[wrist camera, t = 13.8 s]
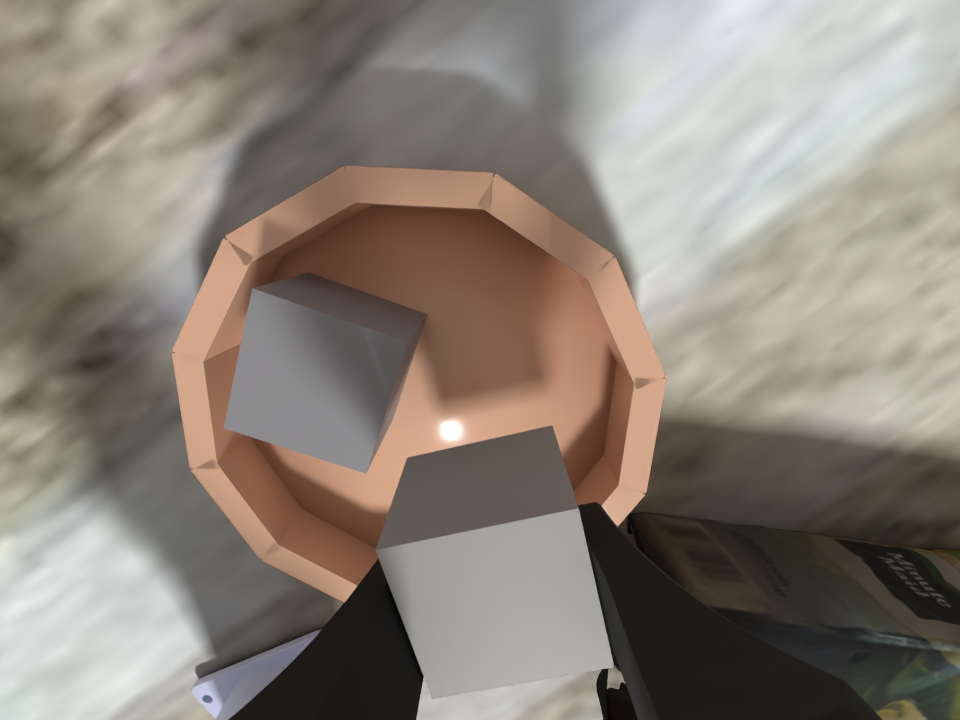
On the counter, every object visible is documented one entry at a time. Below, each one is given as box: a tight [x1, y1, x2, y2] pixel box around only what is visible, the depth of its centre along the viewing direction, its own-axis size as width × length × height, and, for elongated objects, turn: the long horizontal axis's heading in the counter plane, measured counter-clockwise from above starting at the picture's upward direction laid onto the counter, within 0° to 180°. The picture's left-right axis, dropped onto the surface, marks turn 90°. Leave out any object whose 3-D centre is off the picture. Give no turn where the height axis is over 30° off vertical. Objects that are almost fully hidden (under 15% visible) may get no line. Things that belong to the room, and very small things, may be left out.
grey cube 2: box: [376, 425, 614, 699], centre depth 12 cm, size 4×4×4 cm
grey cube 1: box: [224, 273, 427, 474], centre depth 15 cm, size 4×4×4 cm
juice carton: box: [596, 512, 960, 720], centre depth 18 cm, size 20×10×6 cm, turn 83°
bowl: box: [172, 165, 666, 603], centre depth 17 cm, size 16×16×3 cm
